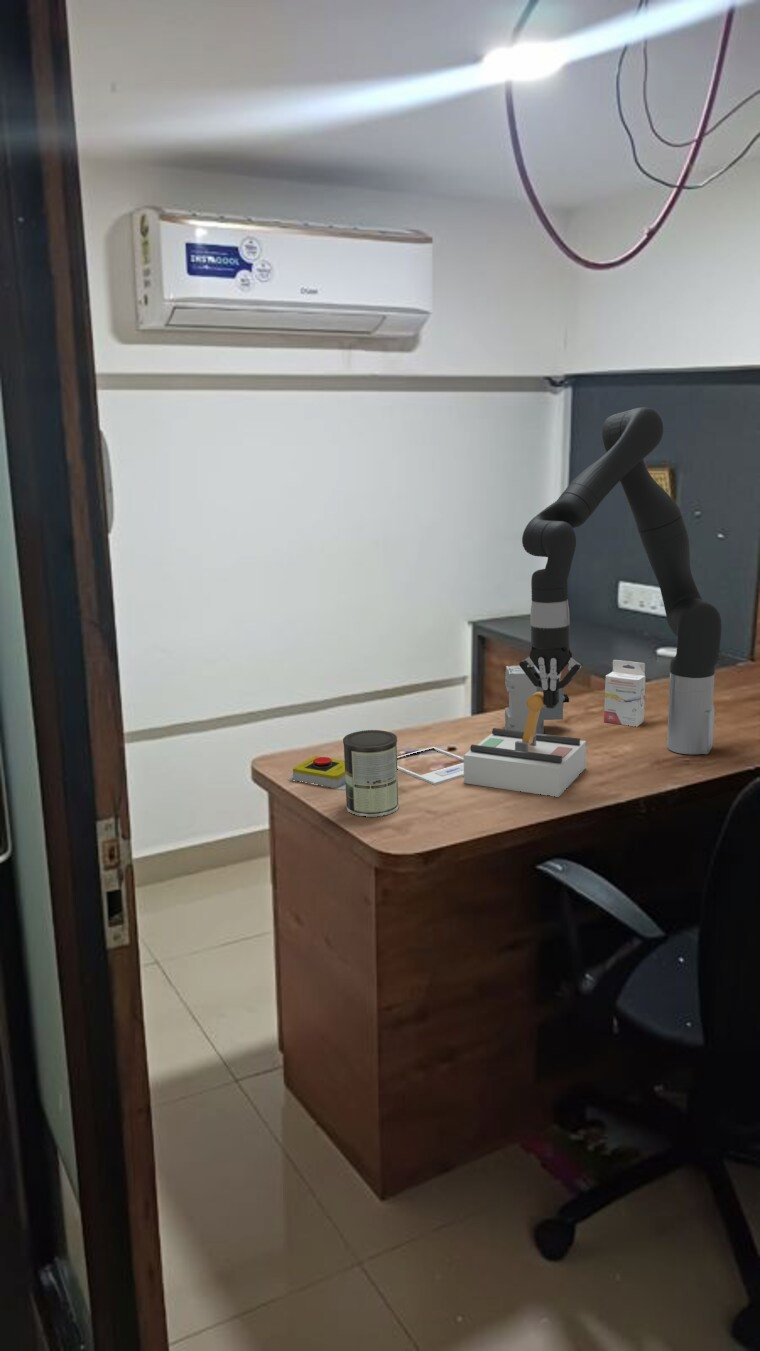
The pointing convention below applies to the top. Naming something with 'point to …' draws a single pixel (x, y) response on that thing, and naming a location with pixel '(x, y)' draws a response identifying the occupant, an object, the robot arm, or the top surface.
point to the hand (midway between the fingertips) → (551, 707)
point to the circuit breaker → (518, 697)
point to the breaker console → (525, 762)
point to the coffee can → (371, 773)
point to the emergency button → (321, 772)
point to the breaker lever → (533, 716)
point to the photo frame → (441, 774)
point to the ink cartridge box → (625, 694)
